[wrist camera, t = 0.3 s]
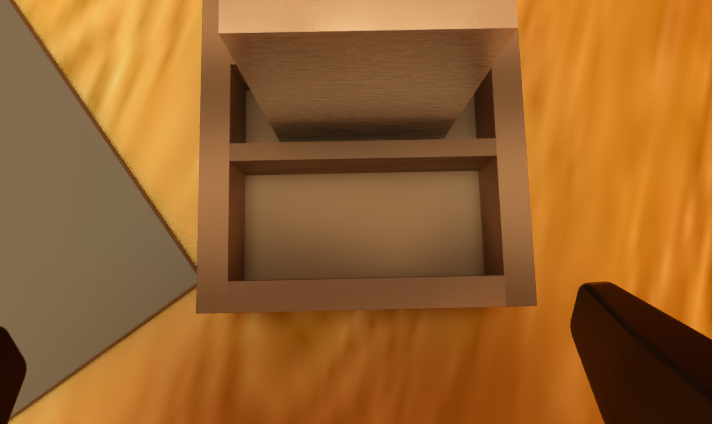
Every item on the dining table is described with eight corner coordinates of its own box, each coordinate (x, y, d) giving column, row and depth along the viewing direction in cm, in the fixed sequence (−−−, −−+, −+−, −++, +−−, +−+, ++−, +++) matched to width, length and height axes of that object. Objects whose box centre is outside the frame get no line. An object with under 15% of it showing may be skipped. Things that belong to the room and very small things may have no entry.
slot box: (492, 297, 20) (536, 305, 15) (234, 303, 20) (195, 313, 15) (474, -8, 22) (509, -89, 17) (238, -4, 22) (204, -84, 17)
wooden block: (438, 146, 18) (518, 27, 9) (284, 149, 18) (218, 33, 9) (436, 97, 19) (511, -64, 10) (284, 100, 19) (219, -59, 10)
